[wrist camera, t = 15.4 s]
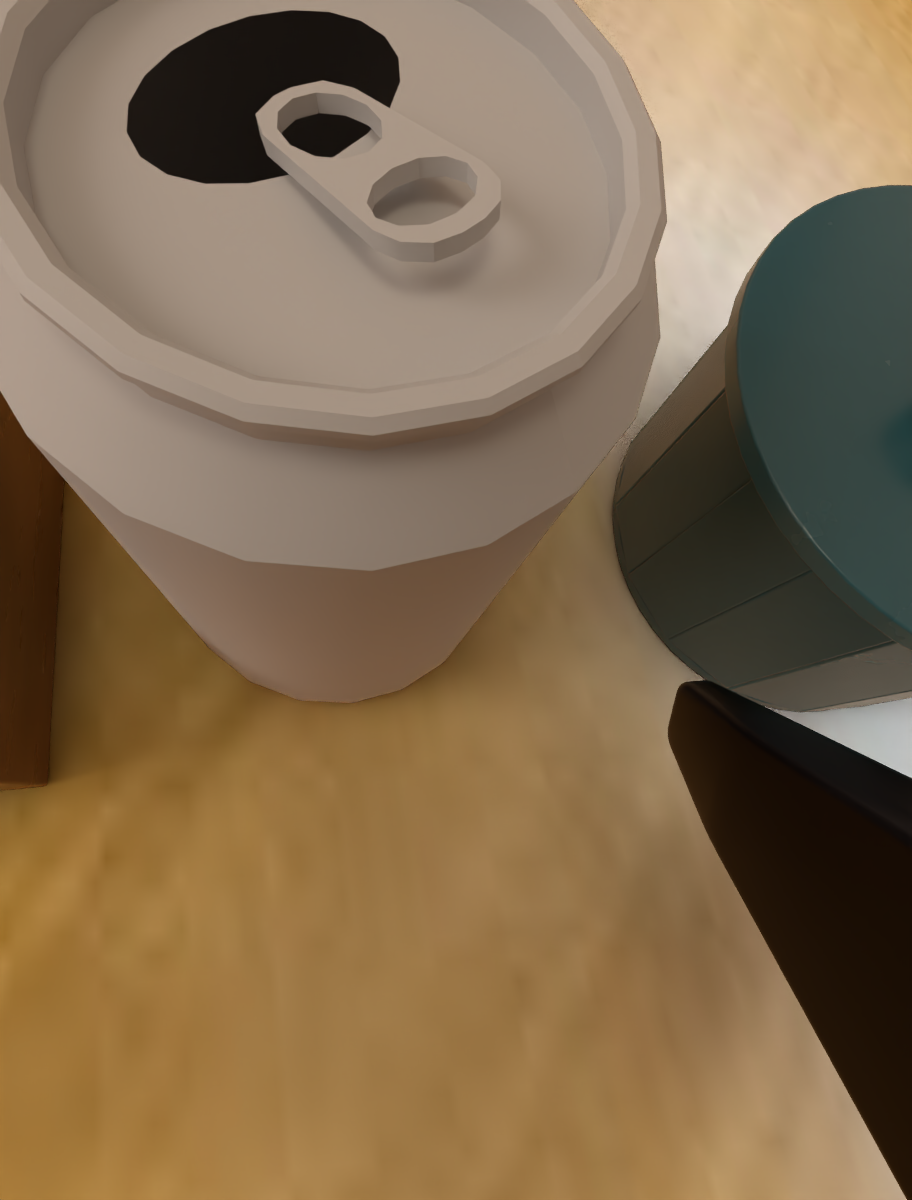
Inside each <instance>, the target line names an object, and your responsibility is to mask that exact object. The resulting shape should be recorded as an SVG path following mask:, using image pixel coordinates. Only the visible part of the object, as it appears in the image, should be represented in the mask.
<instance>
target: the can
mask: <svg viewBox="0 0 912 1200" xmlns="http://www.w3.org/2000/svg"><path fill="white" fill-rule="evenodd" d="M666 223H667V214H666V202H665V189H664V176H663V164H662V151H661V141H660V139H659V137H658V135H657V132H656V130H655V128H654V126H653V123H652V121H651V119H650V117H649V115H648V112H647V110H646V108H645V106H644V103H643V101H642V99H641V97H640V94H639V92H638V90H637V88H636V85H635V83H634V81H633V79H632V76H631V74H630V72H629V70H628V67H627V66H626V64H625V62H624V60H623V59H622V57H621V56H620V55H619V54H618V53H617V51H616V50H615V49H614V48H613V47H612V45H611V44H610V43H609V42H608V41H607V40H606V38H605V37H604V36H603V35H602V34H601V32H600V31H599V30H598V29H597V28H596V27H595V25H594V24H593V23H592V22H591V21H590V19H589V18H588V17H587V16H586V15H585V13H584V12H583V11H582V10H581V9H580V8H579V6H578V5H577V4H576V3H575V2H574V0H0V391H1V393H2V395H3V396H4V398H5V400H6V401H7V403H8V405H9V406H10V408H11V410H12V411H13V413H14V415H15V416H16V418H17V420H18V421H19V423H20V425H21V426H22V428H23V430H24V432H25V433H26V435H27V436H28V437H29V439H30V440H31V441H32V442H33V443H34V444H35V446H36V447H37V448H38V449H39V450H40V451H41V453H42V454H43V455H44V456H45V457H46V458H47V460H48V461H49V462H50V463H51V464H52V465H53V467H54V468H55V469H56V470H57V471H58V472H59V474H60V475H61V476H62V477H63V478H64V479H65V481H66V482H67V483H68V484H69V485H70V486H71V488H72V489H73V490H74V491H75V492H76V493H77V495H78V496H79V497H80V498H81V499H82V500H83V502H84V503H85V504H86V505H87V506H88V507H89V509H90V510H91V511H92V512H93V513H94V514H95V516H96V517H97V518H98V519H99V520H100V521H101V523H102V524H103V525H104V526H105V527H106V528H107V530H108V531H109V532H110V533H111V534H112V535H113V536H114V538H115V539H116V540H117V541H118V542H119V543H120V545H121V546H122V547H123V548H124V549H125V550H126V552H127V553H128V554H129V555H130V556H131V557H132V559H133V560H134V561H135V562H136V563H137V564H138V566H139V567H140V568H141V569H142V570H143V571H144V573H145V574H146V575H147V576H148V577H149V578H150V580H151V581H152V582H153V583H154V584H155V585H156V587H157V588H158V589H159V590H160V591H161V592H162V594H163V595H164V596H165V597H166V598H167V599H168V601H169V602H170V603H171V604H172V605H173V606H174V608H175V609H176V610H177V611H178V612H179V613H180V615H181V616H182V617H183V618H184V619H185V620H186V622H187V623H188V624H189V625H190V626H191V627H192V629H193V630H194V631H195V632H196V633H197V634H198V636H199V637H200V638H201V639H202V640H203V641H204V643H205V644H206V645H207V646H208V647H209V648H210V649H211V650H212V651H213V652H214V653H216V654H217V655H218V656H219V657H220V658H222V659H223V660H224V661H225V662H227V663H228V664H229V665H230V666H231V667H233V668H234V669H235V670H236V671H238V672H239V673H240V674H241V675H242V676H244V677H245V678H246V679H247V680H249V681H250V682H252V683H255V684H258V685H260V686H263V687H266V688H268V689H271V690H273V691H276V692H279V693H281V694H284V695H287V696H289V697H292V698H295V699H297V700H303V701H323V702H344V703H354V702H357V701H361V700H365V699H369V698H372V697H376V696H380V695H384V694H387V693H391V692H395V691H399V690H402V689H404V688H405V687H407V686H408V685H410V684H411V683H413V682H414V681H416V680H418V679H419V678H421V677H422V676H424V675H425V674H427V673H428V672H430V671H431V670H433V669H434V668H436V667H438V666H439V665H441V664H442V663H444V661H445V660H446V659H447V658H448V656H449V655H450V654H451V653H452V651H453V650H454V649H455V648H456V646H457V645H458V644H459V643H460V641H461V640H462V639H463V638H464V636H465V635H466V634H467V633H468V631H469V630H470V629H471V627H472V626H473V625H474V624H475V622H476V621H477V620H478V619H479V617H480V616H481V615H482V613H483V612H484V611H485V610H486V608H487V607H488V606H489V605H490V603H491V602H492V601H493V599H494V598H495V597H496V596H497V594H498V593H499V592H500V591H501V589H502V588H503V587H504V585H505V584H506V583H507V582H508V580H509V579H510V578H511V577H512V575H513V574H514V573H515V571H516V570H517V569H518V568H519V566H520V565H521V564H522V562H523V561H524V560H525V559H526V557H527V556H528V555H529V554H530V552H531V551H532V550H533V548H534V547H535V546H536V545H537V543H538V542H539V541H540V540H541V538H542V537H543V536H544V534H545V533H546V532H547V531H548V529H549V528H550V527H551V525H552V524H553V523H554V522H555V520H556V519H557V518H558V517H559V515H560V514H561V513H562V511H563V510H564V509H565V508H566V506H567V505H568V504H569V503H570V501H571V500H572V499H573V497H574V496H575V495H576V494H577V492H578V491H579V490H580V489H581V487H582V486H583V485H584V483H585V482H586V481H587V480H588V478H589V477H590V476H591V474H592V473H593V472H594V471H595V469H596V468H597V467H598V466H599V464H600V463H601V462H602V460H603V459H604V458H605V457H606V455H607V454H608V453H609V452H610V450H611V449H612V448H613V446H614V445H615V444H616V443H617V441H618V440H619V439H620V438H621V436H622V435H623V434H624V432H625V431H626V430H627V429H628V427H629V426H630V425H631V423H632V422H633V421H634V420H635V418H636V415H637V412H638V408H639V405H640V402H641V398H642V395H643V392H644V389H645V385H646V382H647V379H648V376H649V372H650V369H651V366H652V362H653V359H654V356H655V353H656V349H657V346H658V343H659V340H660V326H659V312H658V298H657V284H656V270H655V257H656V254H657V251H658V248H659V244H660V241H661V238H662V235H663V232H664V229H665V226H666Z"/></svg>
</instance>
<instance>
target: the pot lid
mask: <svg viewBox="0 0 912 1200" xmlns="http://www.w3.org/2000/svg"><path fill="white" fill-rule="evenodd" d="M724 372H725V391H726V397H727V403H728V409H729V415H730V420H731V424H732V428H733V431H734V434H735V437H736V441H737V444H738V447H739V451H740V454H741V457H742V459H743V461H744V464H745V466H746V468H747V471H748V473H749V475H750V477H751V480H752V482H753V484H754V486H755V489H756V491H757V493H758V494H759V496H760V498H761V500H762V501H763V503H764V505H765V507H766V508H767V510H768V512H769V513H770V515H771V517H772V519H773V520H774V522H775V524H776V525H777V527H778V528H779V530H780V531H781V532H782V534H783V535H784V536H785V538H786V539H787V540H788V542H789V543H790V545H791V546H792V547H793V549H794V550H795V551H796V553H797V554H798V555H799V557H800V558H801V559H802V560H803V561H804V563H805V564H806V565H807V566H808V567H809V568H810V569H811V570H812V571H813V572H814V574H815V575H816V576H817V577H818V578H819V579H820V580H821V581H822V582H823V583H824V585H825V586H826V587H827V588H828V589H829V590H830V591H831V592H833V593H834V594H835V595H836V596H837V597H838V598H839V599H840V600H842V601H843V602H844V603H845V604H846V605H847V606H848V607H849V608H851V609H852V610H853V611H854V612H855V613H856V614H857V615H858V616H860V617H861V618H862V619H864V620H865V621H867V622H868V623H869V624H871V625H872V626H874V627H875V628H876V629H878V630H879V631H880V632H882V633H883V634H885V635H886V636H887V637H889V638H890V639H892V640H893V641H895V642H897V643H898V644H900V645H902V646H904V647H906V648H907V649H909V650H911V651H912V185H887V186H879V187H871V188H863V189H859V190H855V191H852V192H848V193H844V194H840V195H837V196H835V197H833V198H830V199H828V200H826V201H824V202H821V203H819V204H817V205H815V206H813V207H811V208H810V209H808V210H807V211H805V212H804V213H802V214H801V215H799V216H798V217H796V218H795V219H793V220H792V221H791V222H790V223H789V224H788V225H787V226H786V227H785V228H784V229H783V230H781V231H780V232H779V233H778V234H777V235H776V236H775V237H774V238H773V239H772V241H771V242H770V243H769V245H768V246H767V247H766V248H765V250H764V251H763V252H762V254H761V255H760V256H759V258H758V259H757V261H756V262H755V263H754V265H753V266H752V268H751V269H750V270H749V272H748V273H747V275H746V277H745V279H744V281H743V283H742V285H741V287H740V290H739V292H738V294H737V296H736V298H735V301H734V305H733V308H732V312H731V316H730V319H729V323H728V327H727V335H726V344H725V352H724Z"/></svg>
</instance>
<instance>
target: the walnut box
mask: <svg viewBox="0 0 912 1200" xmlns="http://www.w3.org/2000/svg"><path fill="white" fill-rule="evenodd" d="M63 489H64V478H63V477H62V476H61V475H60V474H59V472H58V471H57V470H56V469H55V468H54V467H53V465H52V464H51V463H50V462H49V461H48V460H47V458H46V457H45V456H44V455H43V454H42V453H41V451H40V450H39V449H38V448H37V447H36V446H35V444H34V443H33V442H32V441H31V440H30V439H29V437H28V436H27V435H26V433H25V432H24V430H23V428H22V426H21V425H20V423H19V421H18V420H17V418H16V416H15V415H14V413H13V411H12V410H11V408H10V406H9V405H8V403H7V401H6V400H5V398H4V396H3V395H2V393H1V391H0V791H2V790H12V789H22V788H32V787H43V786H45V785H47V783H48V766H49V747H50V729H51V710H52V692H53V674H54V655H55V637H56V618H57V600H58V582H59V563H60V545H61V526H62V508H63Z"/></svg>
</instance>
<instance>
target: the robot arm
mask: <svg viewBox="0 0 912 1200" xmlns="http://www.w3.org/2000/svg"><path fill="white" fill-rule="evenodd" d="M668 739H669V743H670V746H671V749H672V751H673V754H674V756H675V758H676V761H677V763H678V765H679V768H680V770H681V773H682V775H683V777H684V780H685V782H686V785H687V787H688V789H689V792H690V794H691V797H692V799H693V801H694V804H695V806H696V808H697V811H698V813H699V816H700V818H701V820H702V823H703V825H704V827H705V829H706V832H707V834H708V836H709V838H710V840H711V842H712V844H713V846H714V848H715V850H716V852H717V854H718V855H719V857H720V859H721V861H722V863H723V865H724V866H725V868H726V870H727V872H728V874H729V876H730V877H731V879H732V881H733V883H734V885H735V886H736V888H737V890H738V892H739V894H740V896H741V897H742V899H743V901H744V903H745V905H746V907H747V908H748V910H749V912H750V914H751V916H752V918H753V919H754V921H755V923H756V925H757V927H758V929H759V930H760V932H761V934H762V936H763V938H764V939H765V941H766V943H767V945H768V947H769V949H770V950H771V952H772V954H773V956H774V958H775V960H776V961H777V963H778V965H779V967H780V969H781V971H782V972H783V974H784V976H785V978H786V980H787V981H788V983H789V985H790V987H791V989H792V991H793V992H794V994H795V996H796V998H797V1000H798V1002H799V1003H800V1005H801V1007H802V1009H803V1011H804V1013H805V1014H806V1016H807V1018H808V1020H809V1022H810V1024H811V1025H812V1027H813V1029H814V1031H815V1033H816V1034H817V1036H818V1038H819V1040H820V1042H821V1044H822V1045H823V1047H824V1049H825V1051H826V1053H827V1055H828V1056H829V1058H830V1060H831V1062H832V1064H833V1066H834V1067H835V1069H836V1071H837V1073H838V1075H839V1077H840V1078H841V1080H842V1082H843V1084H844V1086H845V1087H846V1089H847V1091H848V1093H849V1095H850V1097H851V1098H852V1100H853V1102H854V1104H855V1106H856V1108H857V1109H858V1111H859V1113H860V1115H861V1117H862V1119H863V1120H864V1122H865V1124H866V1126H867V1128H868V1129H869V1131H870V1133H871V1135H872V1137H873V1139H874V1140H875V1142H876V1144H877V1146H878V1148H879V1150H880V1151H881V1153H882V1155H883V1157H884V1159H885V1161H886V1162H887V1164H888V1166H889V1168H890V1170H891V1172H892V1173H893V1175H894V1177H895V1179H896V1181H897V1182H898V1184H899V1186H900V1188H901V1190H902V1192H903V1193H904V1195H905V1197H906V1199H907V1200H912V778H910V777H908V776H906V775H904V774H902V773H900V772H897V771H895V770H893V769H891V768H889V767H887V766H885V765H883V764H881V763H879V762H877V761H875V760H873V759H871V758H869V757H867V756H865V755H862V754H860V753H858V752H856V751H854V750H852V749H850V748H848V747H846V746H844V745H842V744H840V743H838V742H836V741H834V740H832V739H830V738H828V737H825V736H823V735H821V734H819V733H817V732H815V731H813V730H811V729H809V728H807V727H805V726H803V725H801V724H799V723H797V722H795V721H793V720H791V719H789V718H786V717H784V716H782V715H780V714H778V713H776V712H774V711H772V710H770V709H768V708H766V707H764V706H762V705H760V704H758V703H756V702H754V701H752V700H749V699H747V698H745V697H743V696H741V695H739V694H737V693H735V692H733V691H731V690H729V689H727V688H725V687H723V686H721V685H719V684H717V683H715V682H712V681H708V680H703V681H691V682H684V683H683V684H681V685H680V686H679V688H678V690H677V693H676V697H675V701H674V705H673V709H672V714H671V718H670V722H669V726H668Z"/></svg>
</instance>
